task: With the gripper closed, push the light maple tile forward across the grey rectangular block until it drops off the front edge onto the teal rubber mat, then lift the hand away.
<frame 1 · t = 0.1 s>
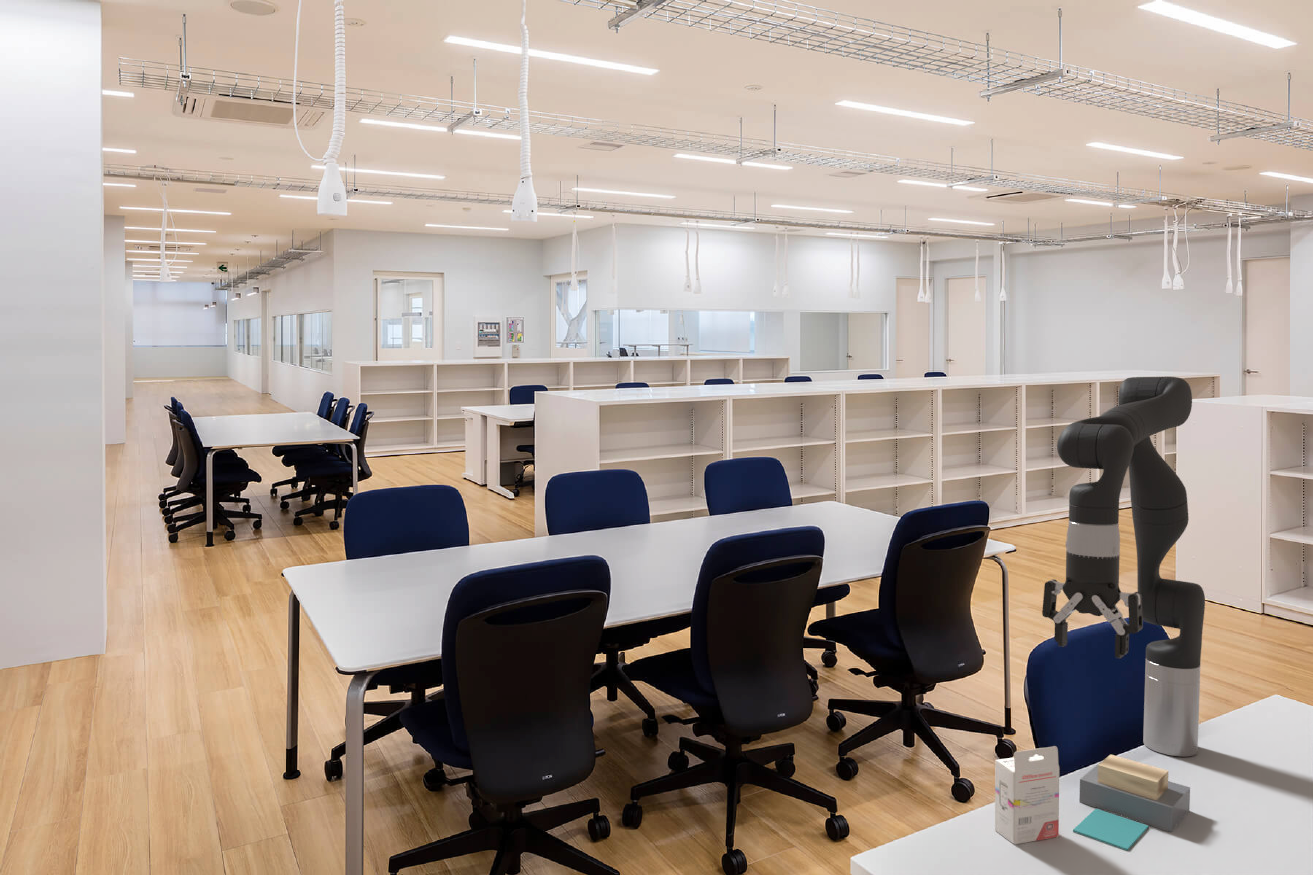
hand: (1090, 651, 136), 29 cm above the table, tool pointing down, fingers open, 8 cm apart
maple tile: (1132, 776, 144), point 5 cm above the table, touching grey rectangular block
grey rectangular block: (1133, 806, 145), on the table
ink cartridge box: (1025, 834, 137), on the table
teal rubber mat: (1110, 829, 138), on the table
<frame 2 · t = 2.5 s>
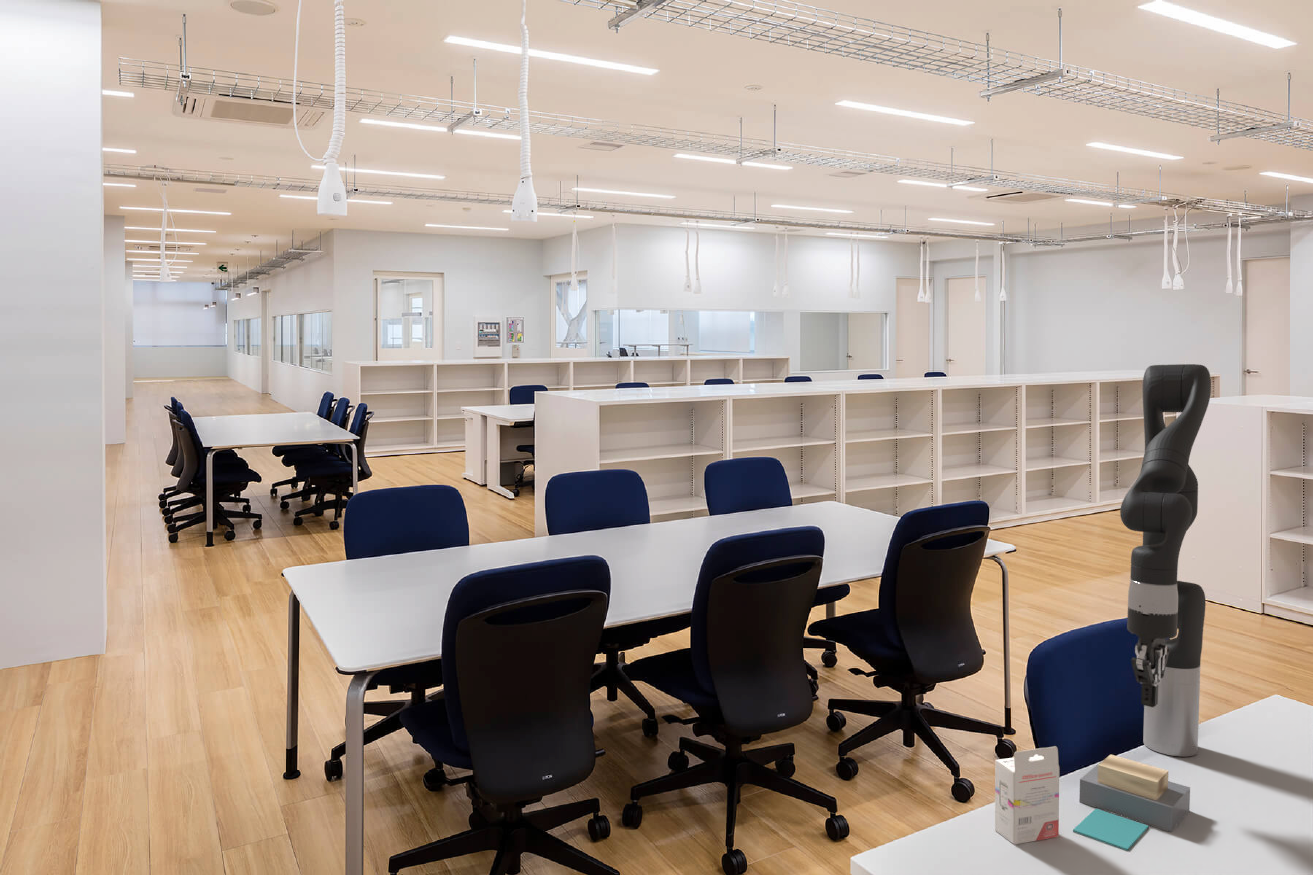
hand: (1149, 704, 149), 16 cm above the table, tool pointing down, fingers closed
nothing on the table moved.
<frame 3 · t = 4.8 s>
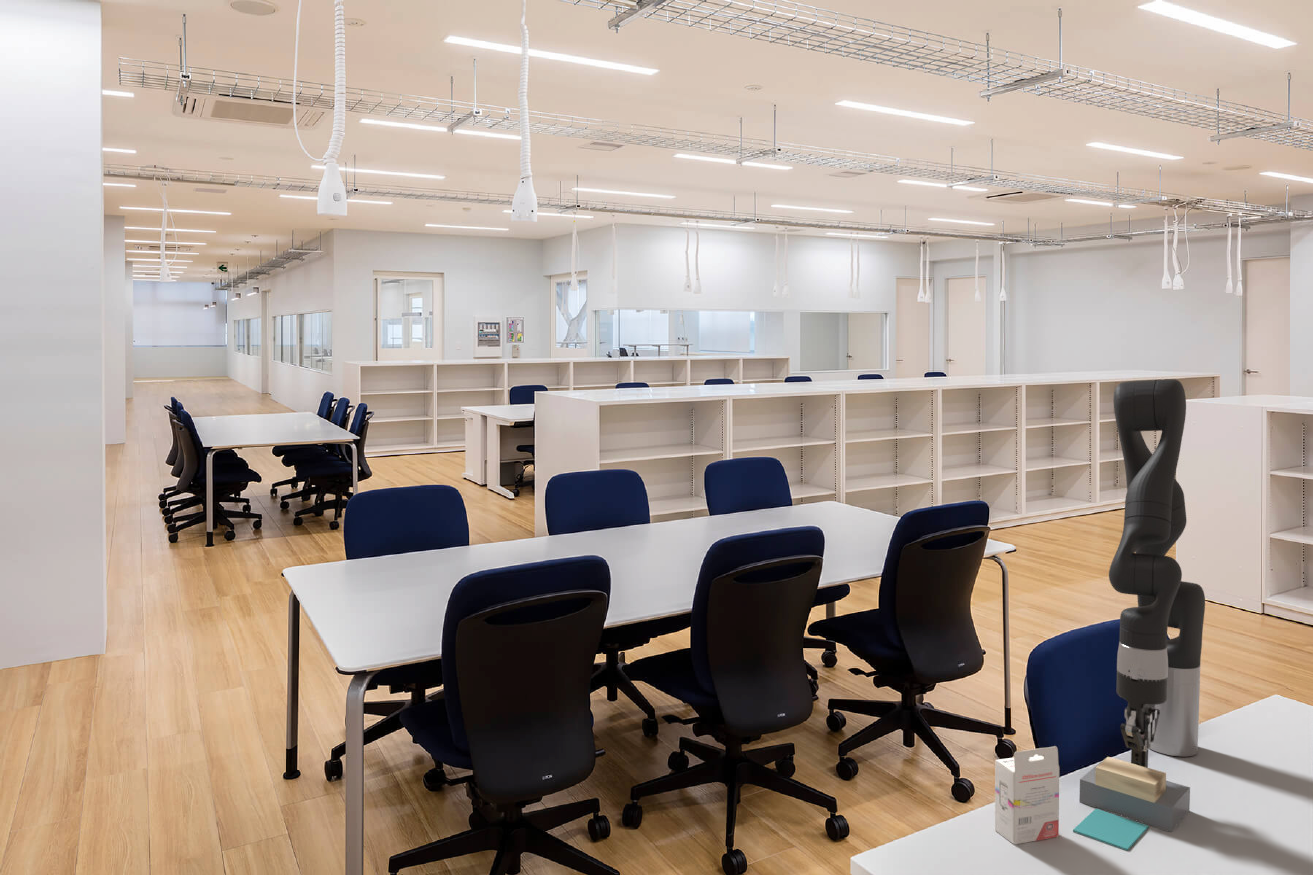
hand: (1139, 769, 147), 6 cm above the table, tool pointing down, fingers closed
maple tile: (1130, 778, 143), point 5 cm above the table, touching grey rectangular block, gripper
everything else where it was.
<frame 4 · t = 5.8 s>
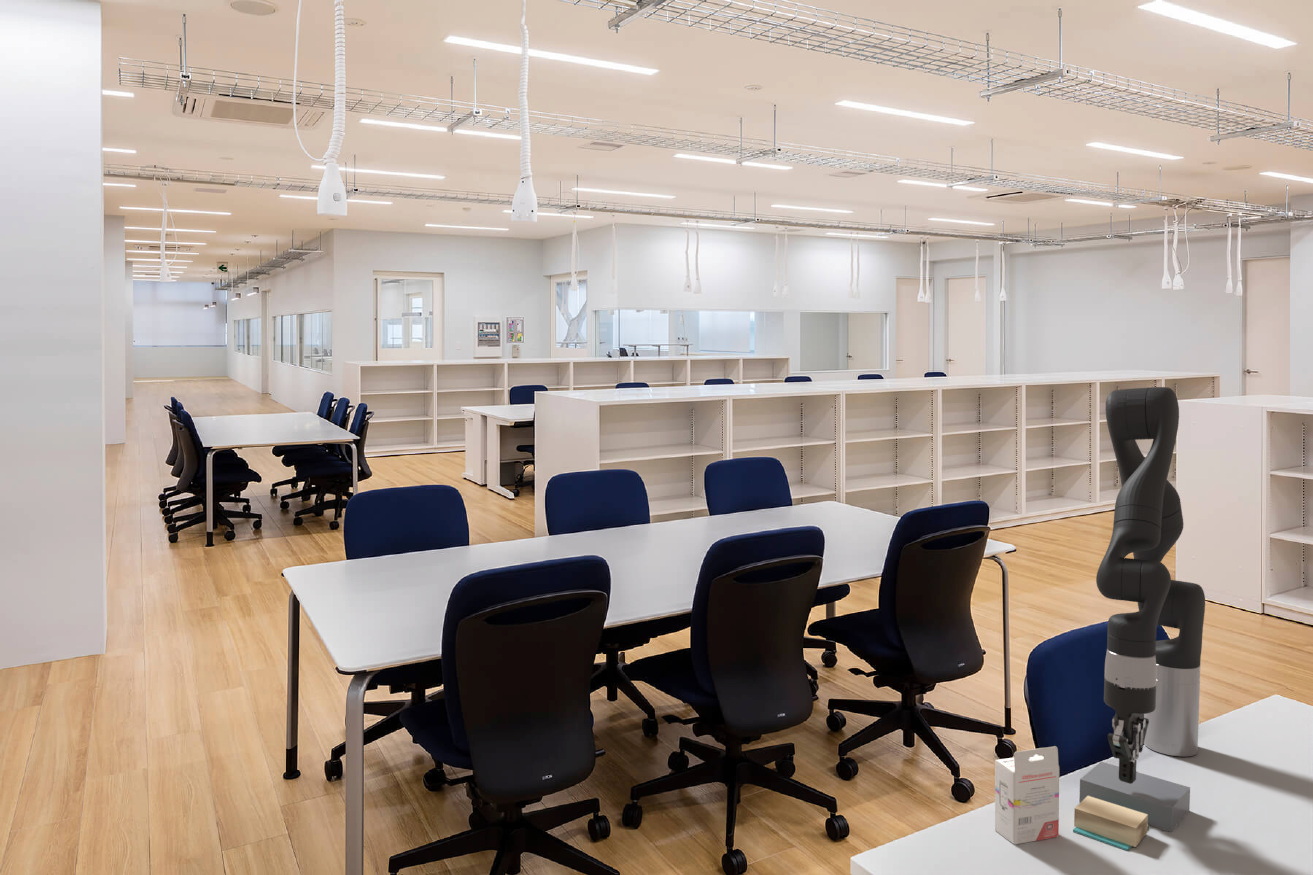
hand: (1127, 780, 142), 6 cm above the table, tool pointing down, fingers closed
maple tile: (1110, 820, 137), point 2 cm above the table, tilted 180°, touching teal rubber mat
everything else where it was.
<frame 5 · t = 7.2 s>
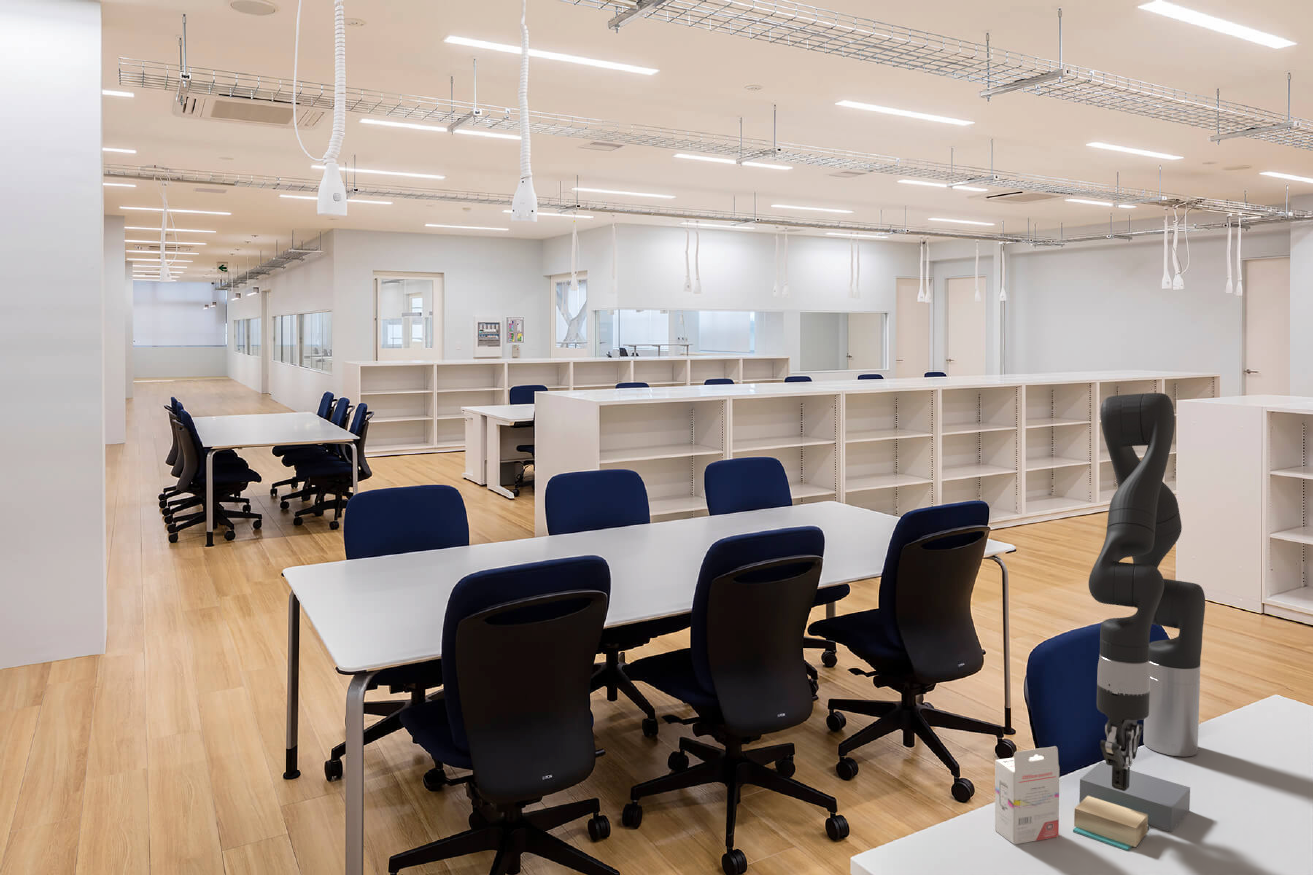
hand: (1120, 787, 140), 6 cm above the table, tool pointing down, fingers closed
nothing on the table moved.
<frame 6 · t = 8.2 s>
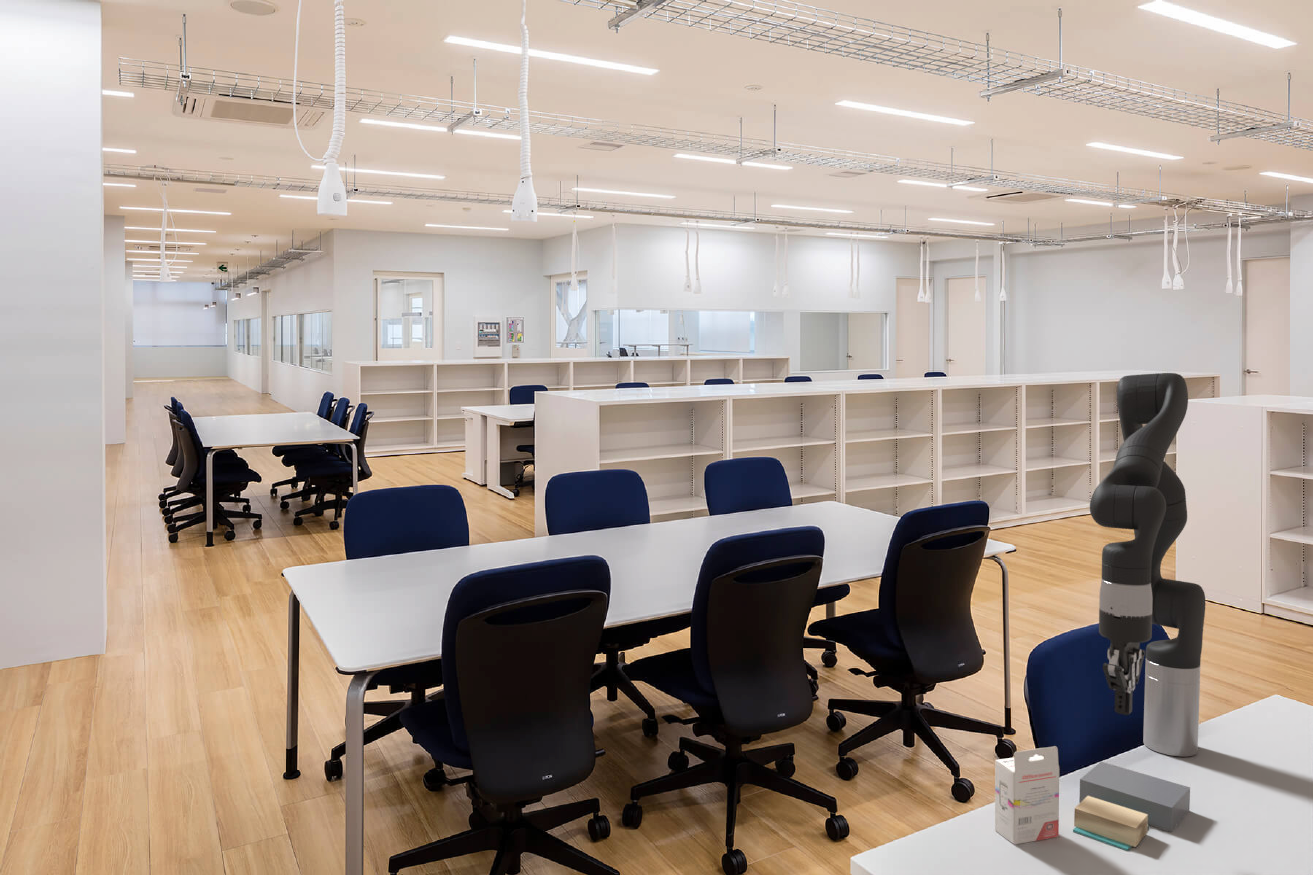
hand: (1123, 712, 139), 18 cm above the table, tool pointing down, fingers closed
nothing on the table moved.
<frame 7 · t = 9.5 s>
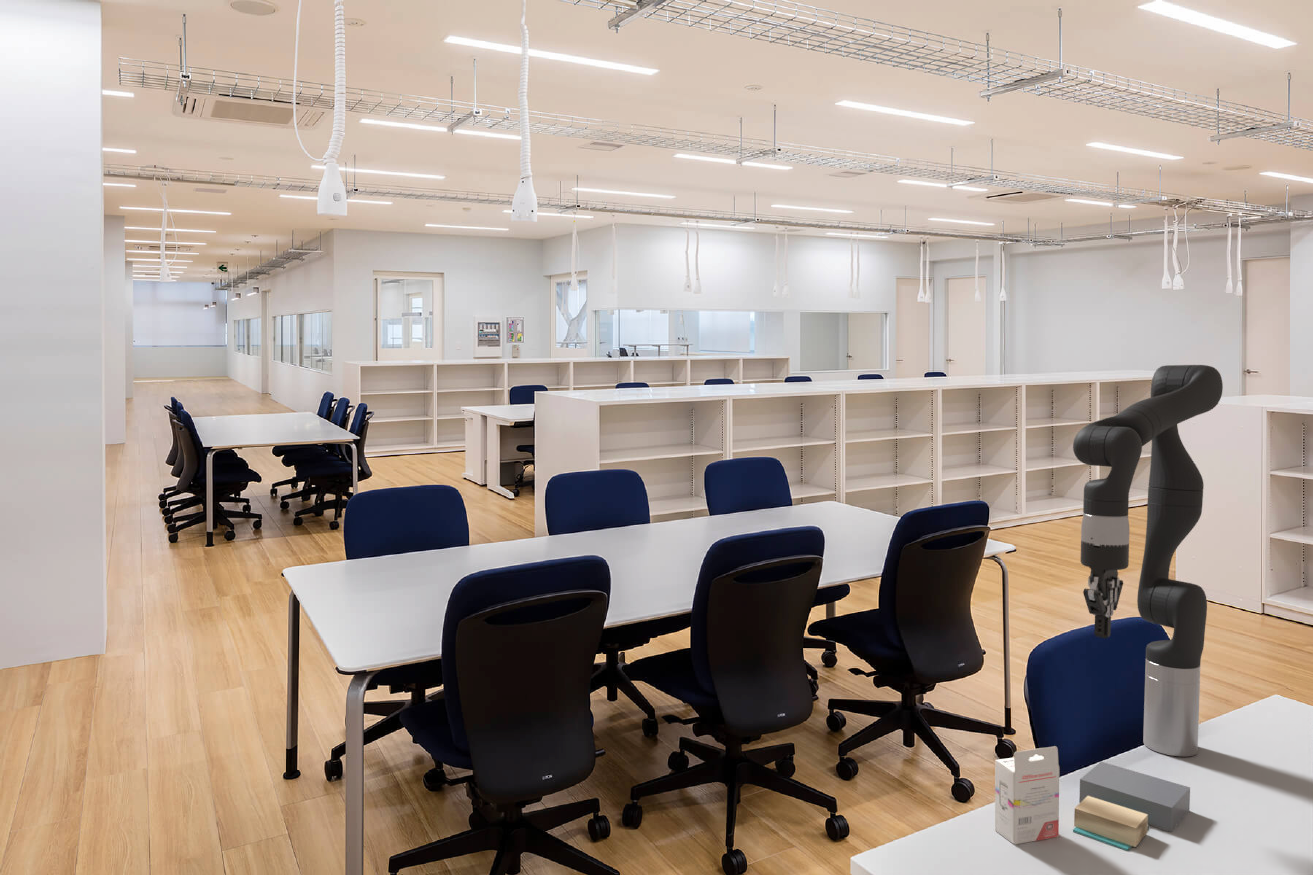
hand: (1102, 636, 152), 27 cm above the table, tool pointing down, fingers closed
nothing on the table moved.
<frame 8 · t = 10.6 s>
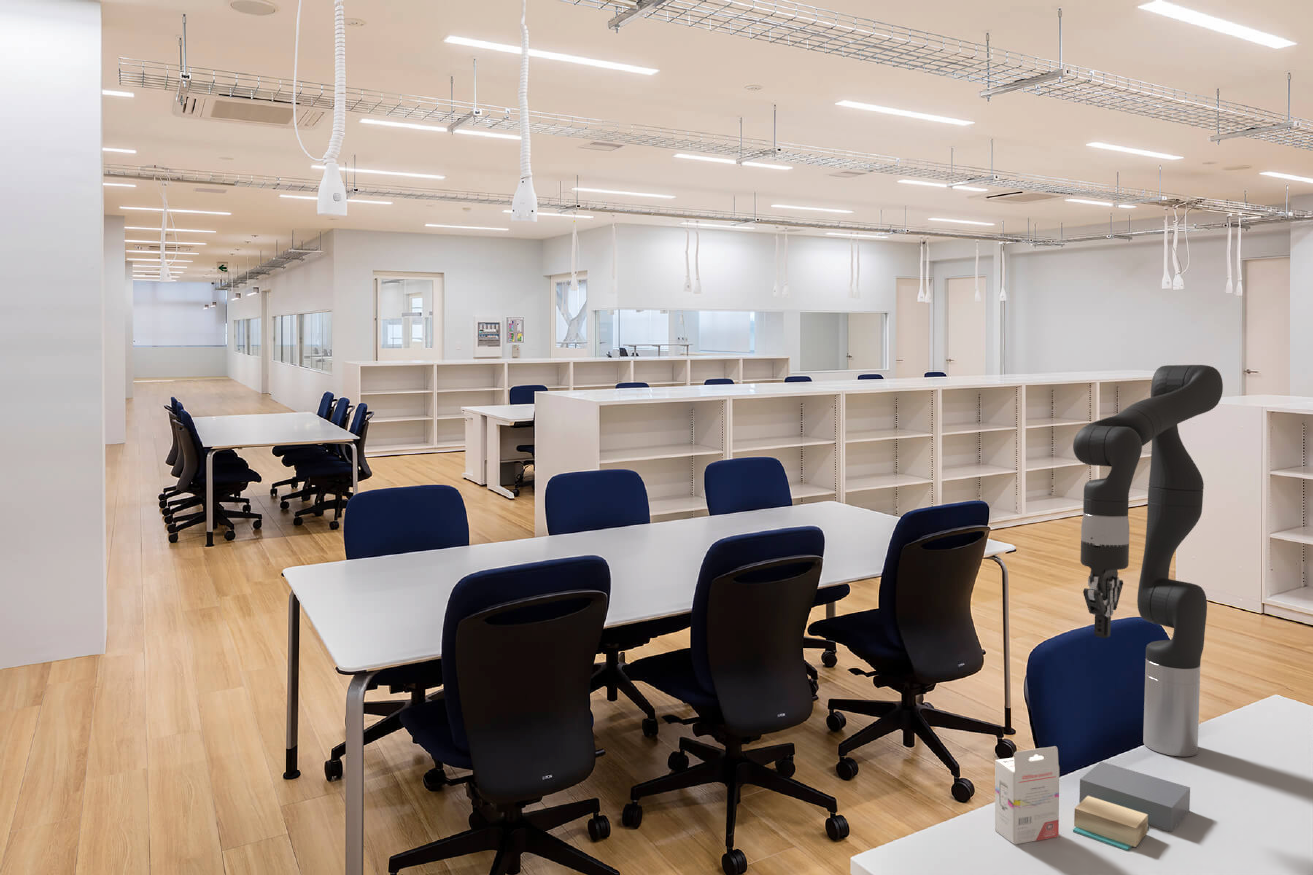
hand: (1102, 636, 152), 27 cm above the table, tool pointing down, fingers closed
nothing on the table moved.
at the end: maple tile point 1.8 cm above the table; maple tile inside the target area on the teal rubber mat (0.7 cm from its centre), point 1.8 cm above the teal rubber mat's base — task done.
